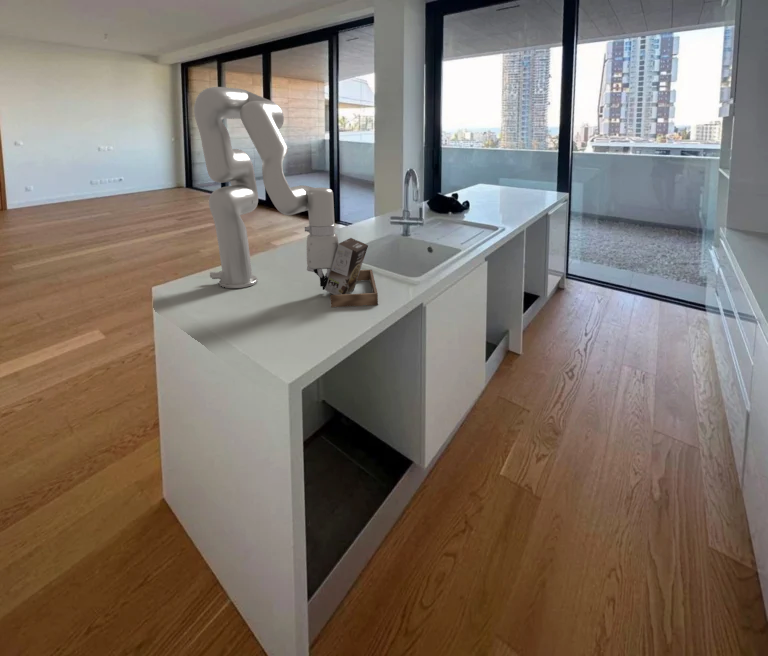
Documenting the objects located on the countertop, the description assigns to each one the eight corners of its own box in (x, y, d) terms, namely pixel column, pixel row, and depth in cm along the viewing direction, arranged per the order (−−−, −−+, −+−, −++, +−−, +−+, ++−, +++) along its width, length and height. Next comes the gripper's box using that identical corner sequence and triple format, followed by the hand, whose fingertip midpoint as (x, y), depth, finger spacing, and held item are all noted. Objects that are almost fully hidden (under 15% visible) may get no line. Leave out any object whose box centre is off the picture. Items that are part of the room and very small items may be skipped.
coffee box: (342, 299, 152) (356, 252, 144) (324, 290, 153) (337, 243, 146) (354, 290, 160) (369, 245, 152) (337, 282, 161) (351, 236, 153)
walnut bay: (330, 307, 146) (330, 295, 144) (331, 281, 169) (331, 271, 168) (377, 304, 147) (377, 293, 145) (372, 279, 170) (371, 269, 169)
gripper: (296, 233, 146) (300, 293, 153) (347, 232, 147) (349, 291, 154) (298, 228, 153) (302, 285, 160) (347, 227, 154) (348, 284, 161)
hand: (325, 288), depth 157 cm, fingers closed
